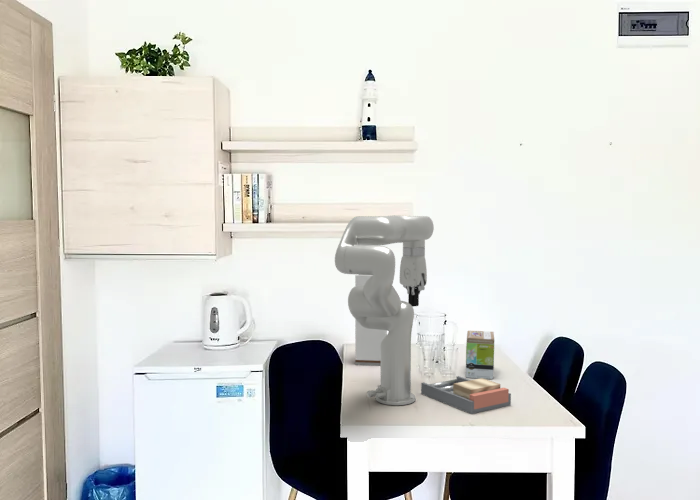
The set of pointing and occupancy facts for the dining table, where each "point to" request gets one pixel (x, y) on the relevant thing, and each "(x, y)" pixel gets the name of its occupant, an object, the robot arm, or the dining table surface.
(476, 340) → the tea box
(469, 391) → the oak slab
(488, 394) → the end stop
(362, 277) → the tall white box
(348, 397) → the dining table surface
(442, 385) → the rollers
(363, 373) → the dining table surface
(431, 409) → the dining table surface
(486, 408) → the roller track
